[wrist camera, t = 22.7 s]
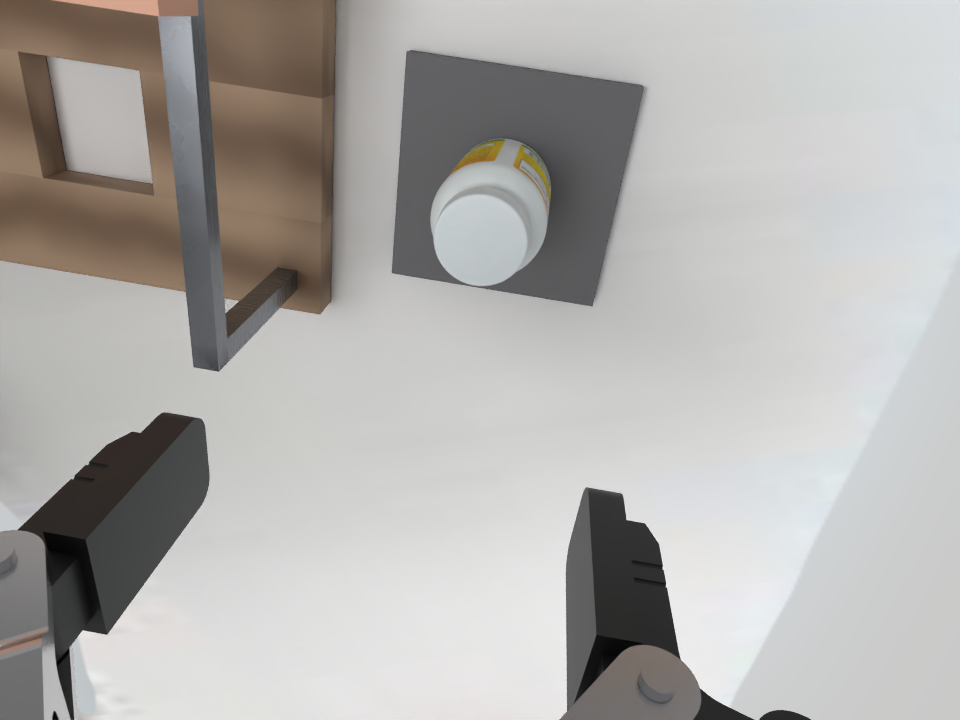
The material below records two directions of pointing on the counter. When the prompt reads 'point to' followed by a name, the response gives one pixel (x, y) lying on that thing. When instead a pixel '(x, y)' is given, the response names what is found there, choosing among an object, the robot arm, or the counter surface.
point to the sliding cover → (146, 6)
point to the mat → (536, 123)
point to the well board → (153, 207)
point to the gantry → (206, 204)
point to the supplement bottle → (491, 212)
